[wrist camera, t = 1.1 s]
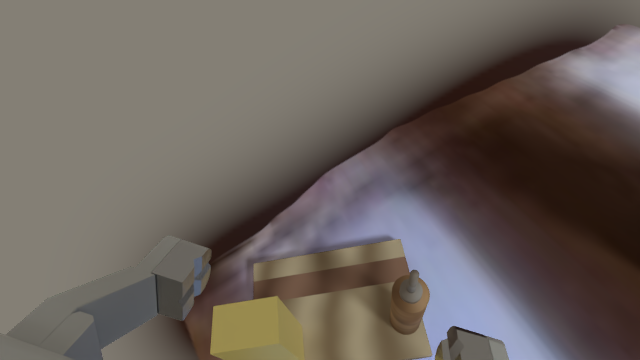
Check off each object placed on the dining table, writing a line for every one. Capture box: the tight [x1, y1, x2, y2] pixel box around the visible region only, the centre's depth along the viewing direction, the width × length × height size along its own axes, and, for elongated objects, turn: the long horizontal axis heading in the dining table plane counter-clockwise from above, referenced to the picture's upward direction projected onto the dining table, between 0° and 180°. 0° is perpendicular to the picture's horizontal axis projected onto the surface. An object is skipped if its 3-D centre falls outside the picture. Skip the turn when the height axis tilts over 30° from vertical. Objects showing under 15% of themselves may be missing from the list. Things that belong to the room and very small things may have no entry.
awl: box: [390, 270, 430, 335], centre depth 34 cm, size 3×3×15 cm
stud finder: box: [210, 296, 305, 360], centre depth 35 cm, size 4×6×12 cm
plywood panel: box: [254, 239, 432, 360], centre depth 43 cm, size 20×14×1 cm
